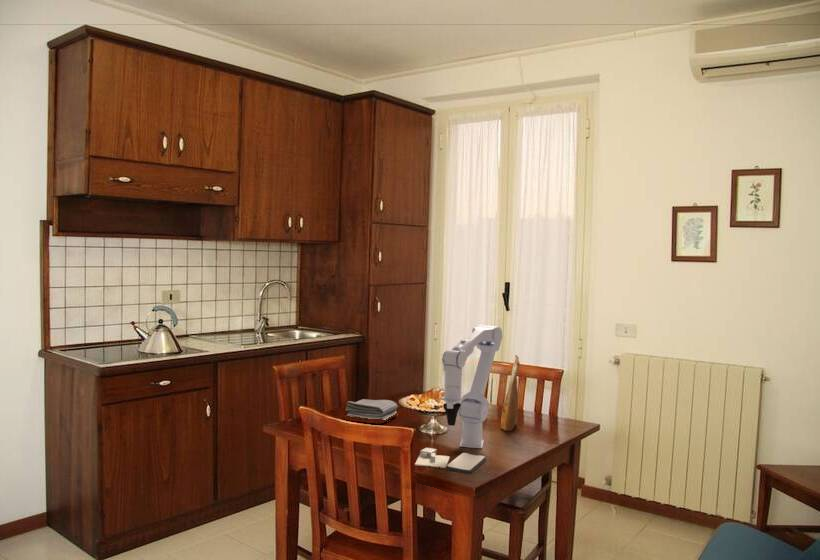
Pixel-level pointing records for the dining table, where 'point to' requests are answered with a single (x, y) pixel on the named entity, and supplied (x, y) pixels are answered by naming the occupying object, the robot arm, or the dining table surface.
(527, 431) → the dining table surface
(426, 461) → the mat
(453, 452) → the dining table surface
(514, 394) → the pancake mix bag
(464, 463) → the phone case
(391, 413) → the towel
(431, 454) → the lighter
